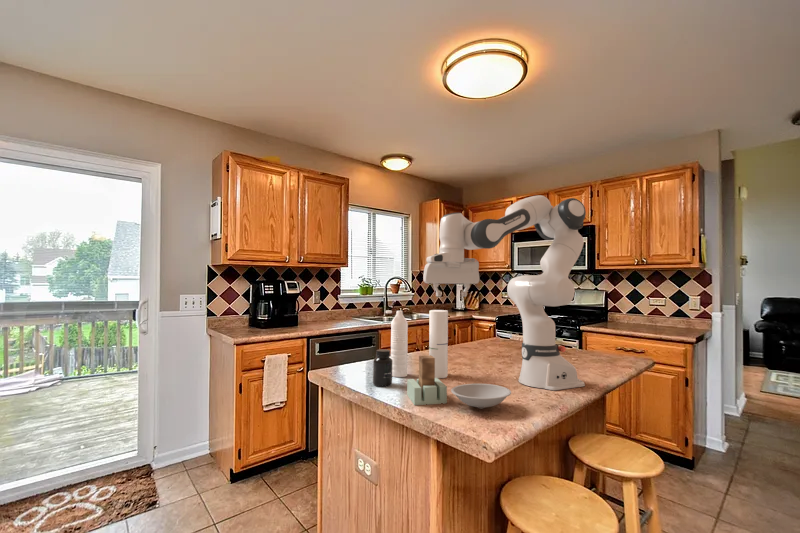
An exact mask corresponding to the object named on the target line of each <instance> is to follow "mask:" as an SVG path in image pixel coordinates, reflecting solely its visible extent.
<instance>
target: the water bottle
mask: <svg viewBox="0 0 800 533" xmlns="http://www.w3.org/2000/svg"><path fill="white" fill-rule="evenodd" d="M392 313H393V311H392V310H389V309H388V310H385V314H392ZM408 327H409V324H408V321H407V319H406V317H405V316H404V312H403V310H396V313H395V316H394V317H393V318H392V320H391V323H390V328H391V329H390V358H391V359H392V378H393V377H394V378H405V377H407V376H408V356H409V355H408V350H409V349H408V348H409V347H408V346H409V345H408V341H409V340H408V335H409V334H408V333H409V332H408V331H409V330H408V329H409V328H408Z"/></svg>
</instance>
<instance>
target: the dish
mask: <svg viewBox="0 0 800 533" xmlns="http://www.w3.org/2000/svg"><path fill="white" fill-rule="evenodd" d="M450 392H451V393H452V395H454V396H455V397H456V398H457V399H459V401H460V402H462V403H464V405H467V406H470V407H475V408H477V409H485V408H491V407H495V406H497V405H499V404H501V403H502V402H503V401H505V400H506V398H508V397H509V396H511V395H512V390H511V389H509V388H508V387H504V386H501V385H496V384H492V383H491V384H490V383H467V384H466V383H465V384H460V385H459V384H458V385H456V386H453V387H452V388H451V389H450Z"/></svg>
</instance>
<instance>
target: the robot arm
mask: <svg viewBox="0 0 800 533" xmlns="http://www.w3.org/2000/svg"><path fill="white" fill-rule="evenodd" d="M585 218H586V207H585V205H584V203H583V202H582V201H580V200H579V199H577V198H574V197H571V198H567V199H564V200H562V201H561V202H559V203H558V204H556V205H555V206H553V205H552V204H551V201H550V200H549V199H548V197H546V196H545V195H541V194H540V195H533V196H529V197H525V198H523V199H519V200H517V201H516V202H514V203H512V204H511V205H509V206H508V207H507V208H506V210H505V212H504V216H502V217H500V218H498V219H496V218H495V219H494V218H487V219H485V218H484V219H482V220H479V221H475V222H473V221H471V220H469V219H468V218H466V217H465V216H464V215H463V213H461V212H452V213H447V214H444V215H442V217H441V218H440V222H439V223H440V224H439V230H438V231H439V237H438V238H439V241H440V245H439V250H438V253H434V254H433V255H429V256H427V257H426V260H425V261H426V264H425V265H424V269H423V277H422V278H423V279H422V280H423V282H424V284H432V286H433V287H432V288H433V289H434V291H435V296H436V297H442V291H440V289H439V285H440V284H447V285H448V284H454V285H455V284H460V285H462V284H463V287H464V289H463V291H460V293H461V296H460V297H467V295H468V291H469V289H470V288H471V285H473V284H475V285H477V284H479V282H480V273H479V272H480V271H479V268H480V263H479V261H478V260H477V259H476V258H468V257H467V258H466V257H465V250H468V251H472V250H482V249H488V250H489V249H493V248H495V247H497V246H498V245H499V244H500V243H501V241H502V240H503V239H504V238H505V237H506V236H508V235H510V234H511V233H513V232H516V231H521V230H524V229H527V228H530V227H532V226H534V229H535V230H536V232H537V234H538V235H539V236H540V238H542V240H543V239H544V240H545V241H552V243H551V244H550V246H549V247H548V248H547V249H546V251H545V252H544V254H543V255H542V257H541V259H540V261H539V265H540V269H541V271H542V273H540V274H536V275H535V274H533V275H532V274H531V275H530V274H529V275H528V274H524V275H518V276H515V277H513V278H511V279H510V280H509V281H508V283H507V287H506V289H507V290H506V291H507V295H508V297H509V299H510V300H511V301H512V302H513V303H514V304H515V306H516V307H517V310H518V312H519V314H520V318H521V322H522V342H521V358H522V362H521V368H520V373H519V378H518V379H517V380H518V383H520V384H522V385H525V386H529V387H532V388H539V389H546V390H550V391H560V390H568V389H575V388H580V387H581V388H582V387H585V385H586V383H585V382H584V380H581V379H580V378H578V372H577V368H576V367H575V366H574V365H573V364H572V362H569V361H568V360H567V359H566V358H565V357H564V356H562V355H561V352H562V353H565V352H566V351H567V348H566V347H565V346H564V345H558V344H556V323H555V321H554V320H553V319H552V318H551V317H549V315H548V314H547V313H546V312H545V308H544V307H560V306H568V305H569V304H570V303H572V301H573V300H574V297H575V293H576V292H575V285H574V284H573V281H572V280H571V279H570V278H569V275H570V273H571V270H572V269H573V267H574V265H575V264H576V262H577V261H578V259H579V257H580V255H581V252H582V250H583V248H584V243H585V242H584V240H585V239H584V237H583V235H581V234H580V232H579V230H580V229H582V228H583V227H584V221H585Z"/></svg>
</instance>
